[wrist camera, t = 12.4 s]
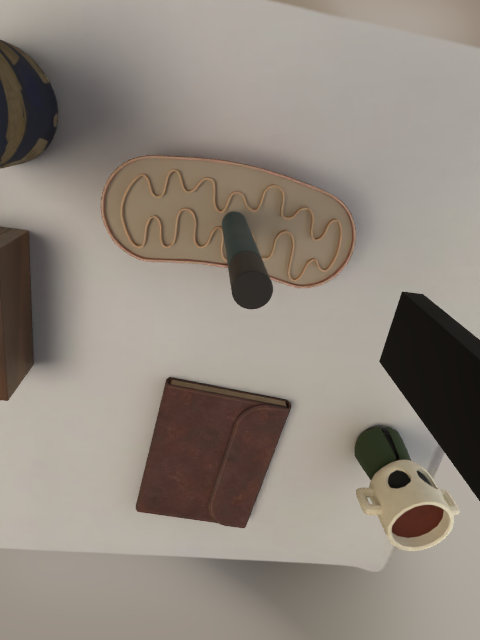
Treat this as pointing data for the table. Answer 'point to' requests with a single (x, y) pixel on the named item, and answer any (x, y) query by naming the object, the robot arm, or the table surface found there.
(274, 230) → the anatomical model
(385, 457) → the character mug
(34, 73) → the canister
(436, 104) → the table surface
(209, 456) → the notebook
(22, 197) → the table surface
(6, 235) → the pen holder
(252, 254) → the pen
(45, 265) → the table surface
